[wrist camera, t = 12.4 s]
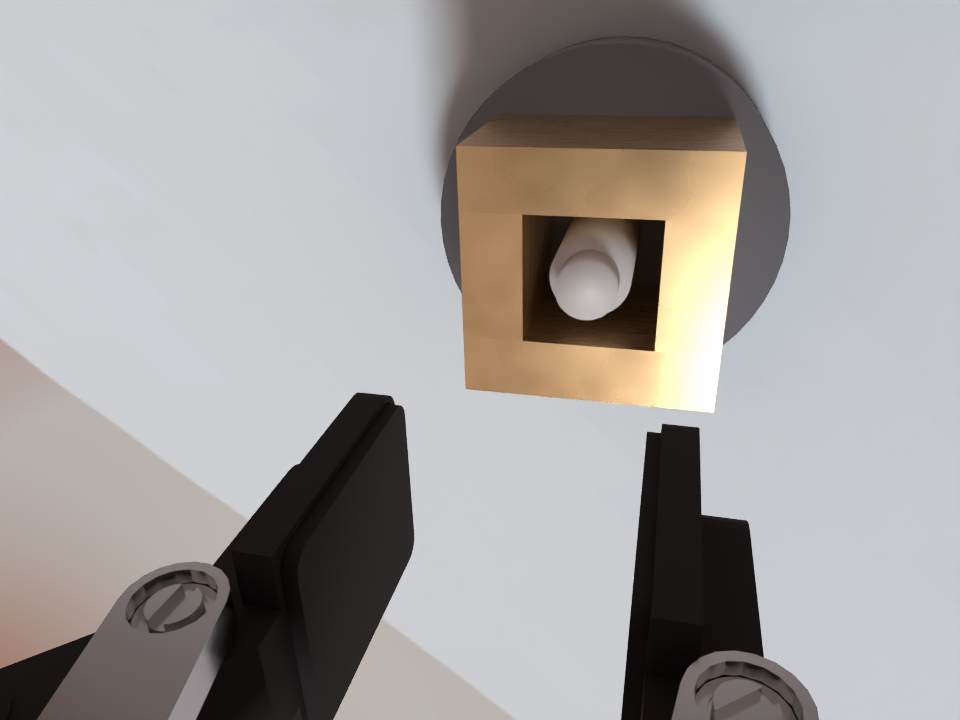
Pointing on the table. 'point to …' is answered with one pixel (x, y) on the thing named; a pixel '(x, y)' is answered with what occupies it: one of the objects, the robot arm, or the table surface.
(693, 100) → the hub
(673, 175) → the collar
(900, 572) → the table surface
